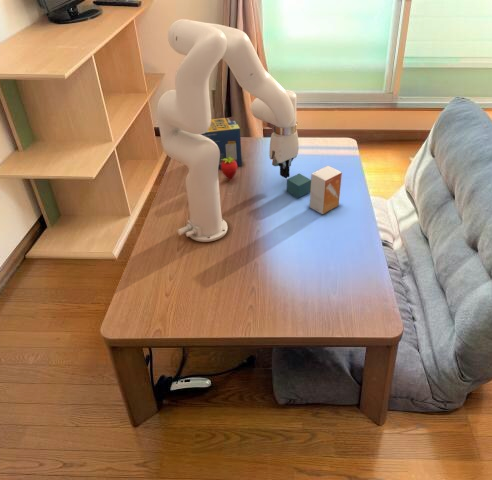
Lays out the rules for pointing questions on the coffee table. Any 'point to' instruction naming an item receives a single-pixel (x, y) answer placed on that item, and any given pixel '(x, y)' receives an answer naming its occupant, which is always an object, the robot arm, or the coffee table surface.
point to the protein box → (226, 138)
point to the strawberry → (229, 167)
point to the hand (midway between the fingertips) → (284, 176)
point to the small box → (325, 189)
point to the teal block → (298, 185)
